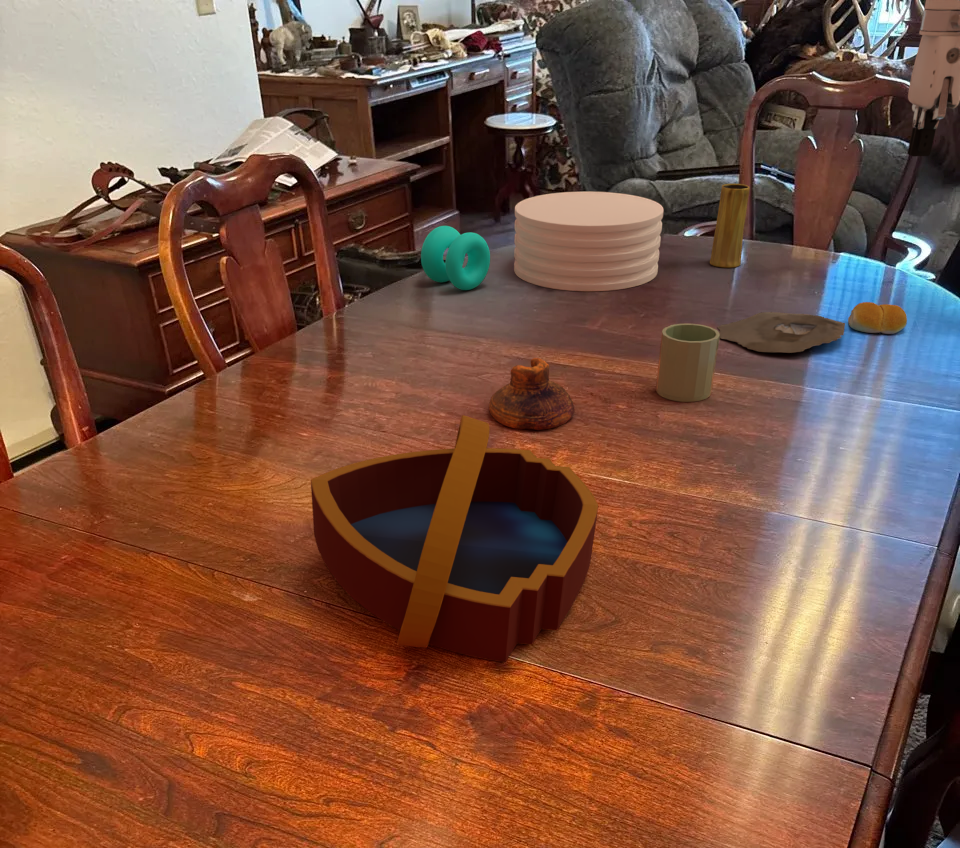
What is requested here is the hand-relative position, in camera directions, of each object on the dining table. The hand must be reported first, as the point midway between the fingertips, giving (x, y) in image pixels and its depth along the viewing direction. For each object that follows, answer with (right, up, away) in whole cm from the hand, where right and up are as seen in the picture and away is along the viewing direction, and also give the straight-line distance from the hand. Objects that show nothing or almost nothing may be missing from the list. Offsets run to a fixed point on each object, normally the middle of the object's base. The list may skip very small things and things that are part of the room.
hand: (918, 155), depth 157 cm
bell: (-65, -49, -26) cm, 86 cm away
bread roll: (-7, -28, +1) cm, 29 cm away
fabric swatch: (-24, -30, -1) cm, 38 cm away
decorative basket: (-75, -73, -58) cm, 120 cm away
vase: (-24, -5, +32) cm, 41 cm away
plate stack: (-52, -8, +30) cm, 60 cm away
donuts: (-77, -13, +22) cm, 81 cm away
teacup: (-43, -44, -20) cm, 65 cm away
